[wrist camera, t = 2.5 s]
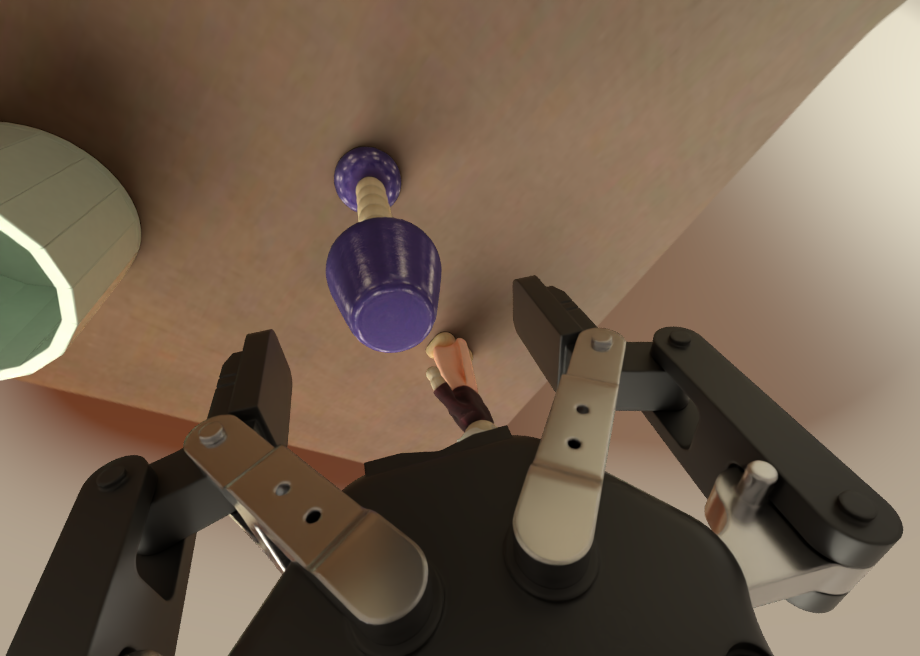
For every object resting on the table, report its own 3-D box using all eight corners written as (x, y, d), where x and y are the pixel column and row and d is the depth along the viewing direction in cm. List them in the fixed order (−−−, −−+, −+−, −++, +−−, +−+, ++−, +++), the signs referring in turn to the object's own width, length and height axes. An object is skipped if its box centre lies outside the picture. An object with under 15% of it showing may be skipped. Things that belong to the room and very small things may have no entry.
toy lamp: (361, 230, 30) (393, 394, 17) (307, 178, 27) (295, 323, 14) (413, 183, 29) (492, 316, 16) (364, 125, 26) (408, 226, 13)
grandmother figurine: (490, 351, 39) (550, 464, 29) (463, 380, 40) (511, 499, 30) (425, 312, 35) (468, 428, 25) (396, 345, 36) (426, 469, 26)
